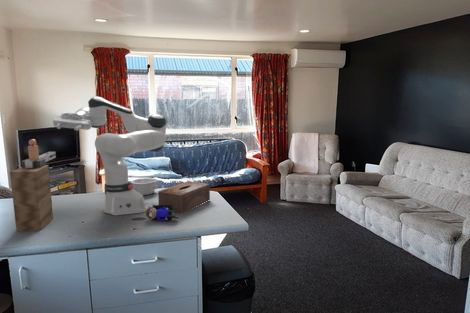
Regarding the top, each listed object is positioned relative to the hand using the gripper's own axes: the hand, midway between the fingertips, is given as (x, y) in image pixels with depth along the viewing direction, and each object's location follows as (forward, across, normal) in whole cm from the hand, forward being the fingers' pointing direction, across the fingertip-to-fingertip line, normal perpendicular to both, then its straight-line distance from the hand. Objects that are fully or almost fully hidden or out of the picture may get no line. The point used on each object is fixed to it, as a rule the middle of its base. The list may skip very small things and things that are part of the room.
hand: (66, 128), depth 188 cm
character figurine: (+43, -61, -24) cm, 79 cm away
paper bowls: (-2, -42, -38) cm, 57 cm away
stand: (+49, -5, -28) cm, 57 cm away
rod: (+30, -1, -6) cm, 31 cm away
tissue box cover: (+20, -69, -29) cm, 78 cm away
